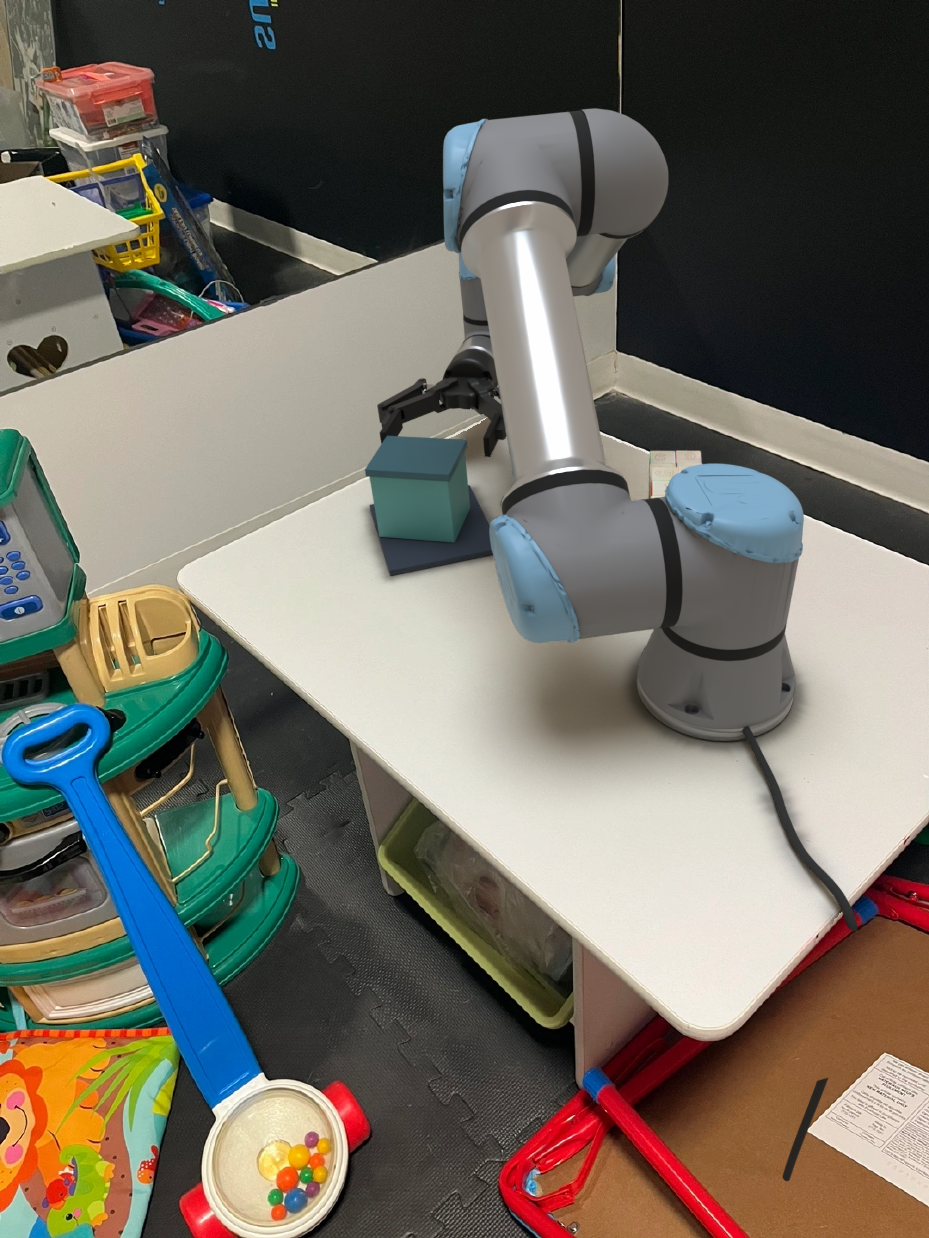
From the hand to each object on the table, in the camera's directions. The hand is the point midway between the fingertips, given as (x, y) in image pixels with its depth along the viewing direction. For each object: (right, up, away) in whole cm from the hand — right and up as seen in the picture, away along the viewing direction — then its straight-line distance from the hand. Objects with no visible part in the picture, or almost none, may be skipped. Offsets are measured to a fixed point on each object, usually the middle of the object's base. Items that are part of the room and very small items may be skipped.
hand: (434, 444), depth 116 cm
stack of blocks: (+29, -16, -7) cm, 33 cm away
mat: (0, -11, +3) cm, 11 cm away
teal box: (-1, -10, +3) cm, 10 cm away
